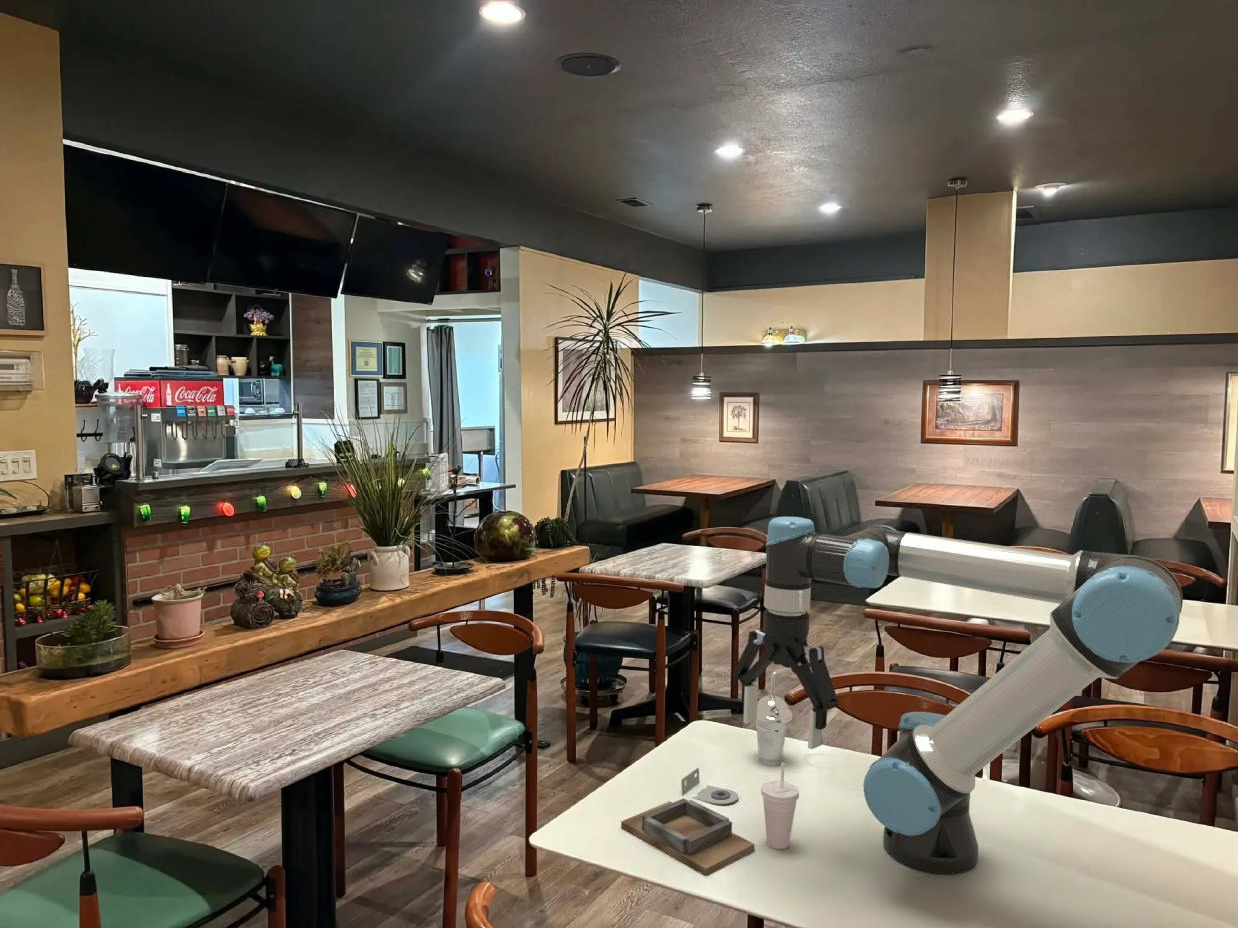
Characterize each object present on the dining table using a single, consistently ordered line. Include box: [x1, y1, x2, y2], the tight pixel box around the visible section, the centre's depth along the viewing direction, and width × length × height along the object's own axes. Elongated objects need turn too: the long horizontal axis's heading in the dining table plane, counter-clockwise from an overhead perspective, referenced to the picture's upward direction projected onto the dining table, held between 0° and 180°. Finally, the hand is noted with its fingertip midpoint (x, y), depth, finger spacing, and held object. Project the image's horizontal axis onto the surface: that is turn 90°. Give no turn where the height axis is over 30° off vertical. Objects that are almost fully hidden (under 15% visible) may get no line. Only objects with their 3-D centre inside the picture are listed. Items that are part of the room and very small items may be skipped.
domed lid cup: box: [754, 667, 794, 767], centre depth 186 cm, size 8×9×20 cm
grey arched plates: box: [680, 767, 739, 806], centre depth 171 cm, size 7×10×4 cm, turn 57°
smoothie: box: [760, 761, 800, 850], centre depth 153 cm, size 6×6×14 cm
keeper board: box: [620, 798, 756, 877], centre depth 154 cm, size 20×12×4 cm, turn 42°
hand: (781, 733), depth 152 cm, fingers open, 13 cm apart
